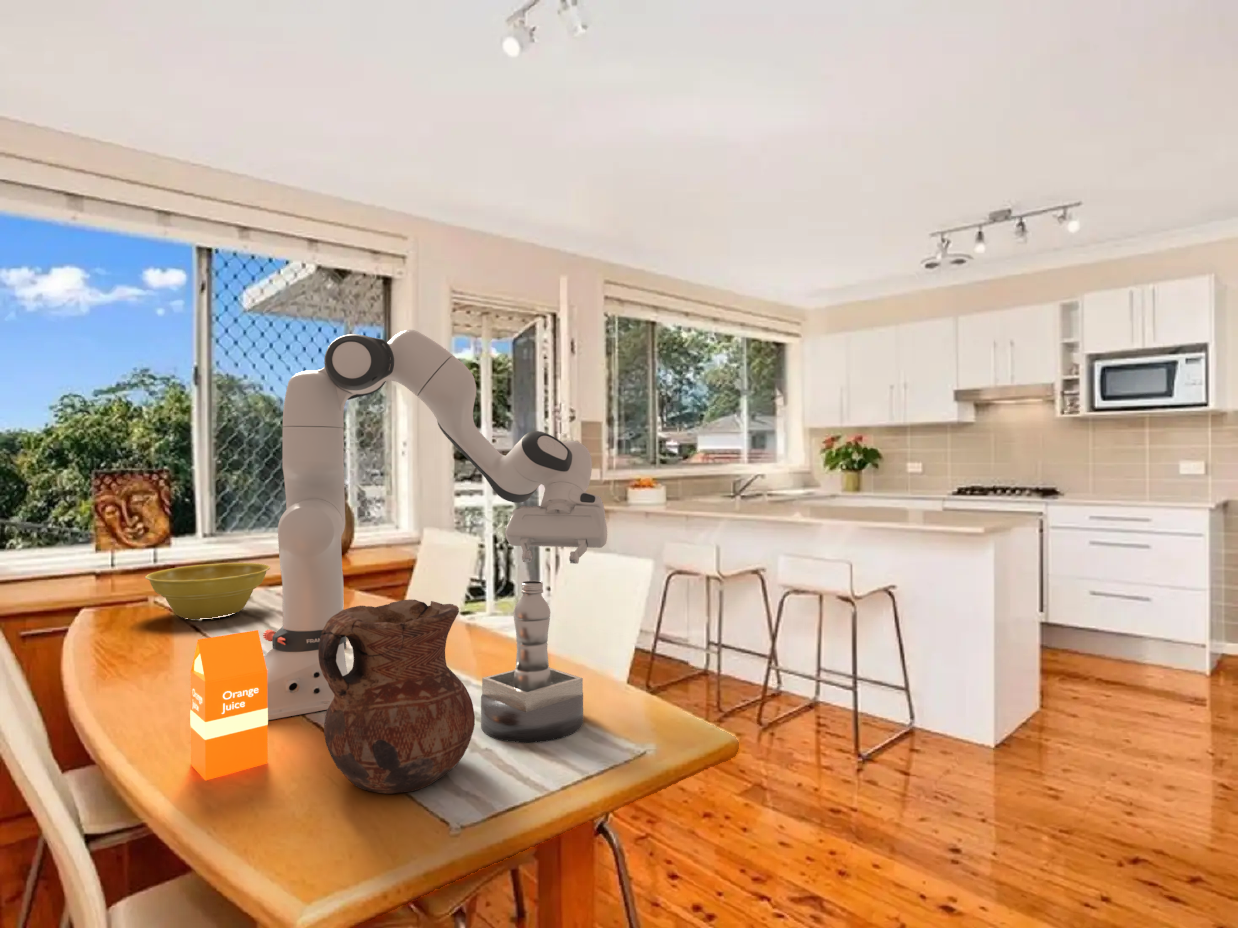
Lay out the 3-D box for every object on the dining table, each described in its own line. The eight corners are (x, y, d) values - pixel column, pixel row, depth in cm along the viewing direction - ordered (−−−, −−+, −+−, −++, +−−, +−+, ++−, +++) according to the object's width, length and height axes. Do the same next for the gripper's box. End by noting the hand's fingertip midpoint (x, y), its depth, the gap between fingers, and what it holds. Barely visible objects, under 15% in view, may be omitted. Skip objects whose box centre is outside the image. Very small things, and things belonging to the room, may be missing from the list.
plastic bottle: (545, 701, 127) (545, 586, 127) (507, 699, 128) (508, 584, 128) (555, 690, 133) (556, 580, 133) (520, 687, 135) (520, 578, 135)
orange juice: (268, 763, 114) (267, 634, 113) (205, 780, 108) (204, 644, 107) (251, 748, 119) (250, 625, 119) (190, 764, 113) (189, 634, 113)
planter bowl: (116, 626, 204) (116, 577, 204) (201, 603, 235) (200, 561, 235) (221, 631, 198) (220, 581, 198) (293, 606, 230) (292, 563, 230)
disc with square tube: (522, 751, 118) (522, 702, 118) (455, 720, 132) (455, 675, 132) (604, 722, 131) (604, 677, 131) (535, 696, 145) (535, 656, 145)
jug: (394, 737, 124) (393, 589, 124) (501, 757, 116) (501, 599, 116) (289, 793, 104) (288, 616, 103) (410, 822, 96) (410, 630, 95)
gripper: (510, 495, 151) (494, 549, 141) (608, 497, 147) (598, 552, 138) (517, 515, 155) (502, 569, 146) (612, 517, 152) (603, 572, 142)
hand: (549, 561), depth 142 cm, fingers open, 8 cm apart
